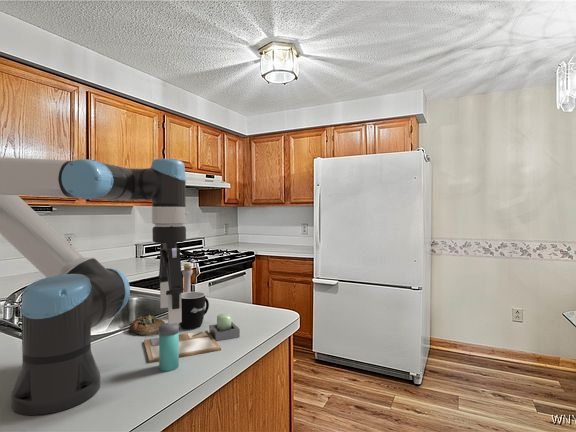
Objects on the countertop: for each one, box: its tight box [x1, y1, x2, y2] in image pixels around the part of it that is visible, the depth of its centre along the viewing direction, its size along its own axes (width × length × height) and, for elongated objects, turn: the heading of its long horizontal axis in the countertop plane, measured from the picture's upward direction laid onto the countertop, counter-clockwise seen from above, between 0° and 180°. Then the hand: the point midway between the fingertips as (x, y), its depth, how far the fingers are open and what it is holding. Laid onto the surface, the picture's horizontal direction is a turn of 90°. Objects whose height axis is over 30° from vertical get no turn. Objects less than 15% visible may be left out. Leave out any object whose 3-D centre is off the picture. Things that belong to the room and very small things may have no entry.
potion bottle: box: [181, 263, 194, 293], centre depth 126 cm, size 9×9×18 cm
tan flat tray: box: [143, 329, 222, 364], centre depth 98 cm, size 18×15×1 cm
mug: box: [178, 291, 210, 330], centre depth 115 cm, size 12×9×10 cm
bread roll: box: [128, 314, 166, 336], centre depth 111 cm, size 11×11×5 cm
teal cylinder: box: [158, 322, 180, 372], centre depth 85 cm, size 4×4×10 cm
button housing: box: [208, 321, 241, 342], centre depth 106 cm, size 7×7×2 cm
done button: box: [216, 313, 232, 331], centre depth 106 cm, size 4×4×4 cm
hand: (170, 314), depth 85 cm, fingers open, 13 cm apart
